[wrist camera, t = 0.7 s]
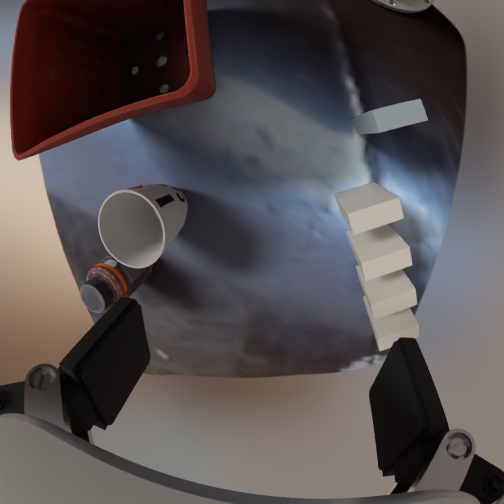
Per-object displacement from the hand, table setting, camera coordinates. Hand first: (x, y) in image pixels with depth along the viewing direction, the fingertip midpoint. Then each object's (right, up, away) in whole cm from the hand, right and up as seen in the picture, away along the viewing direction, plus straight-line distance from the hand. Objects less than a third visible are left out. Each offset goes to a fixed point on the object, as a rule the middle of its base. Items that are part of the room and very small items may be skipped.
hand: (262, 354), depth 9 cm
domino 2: (+12, +10, +21) cm, 26 cm away
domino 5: (+17, -3, +26) cm, 31 cm away
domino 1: (+13, +18, +18) cm, 29 cm away
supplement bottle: (-17, +2, +30) cm, 34 cm away
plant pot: (-11, +27, +18) cm, 35 cm away
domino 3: (+14, +6, +23) cm, 27 cm away
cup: (-11, +10, +26) cm, 29 cm away
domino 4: (+15, +2, +24) cm, 29 cm away
